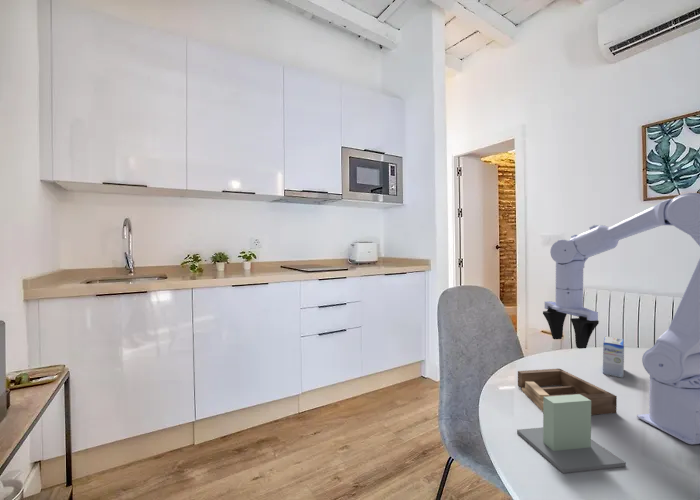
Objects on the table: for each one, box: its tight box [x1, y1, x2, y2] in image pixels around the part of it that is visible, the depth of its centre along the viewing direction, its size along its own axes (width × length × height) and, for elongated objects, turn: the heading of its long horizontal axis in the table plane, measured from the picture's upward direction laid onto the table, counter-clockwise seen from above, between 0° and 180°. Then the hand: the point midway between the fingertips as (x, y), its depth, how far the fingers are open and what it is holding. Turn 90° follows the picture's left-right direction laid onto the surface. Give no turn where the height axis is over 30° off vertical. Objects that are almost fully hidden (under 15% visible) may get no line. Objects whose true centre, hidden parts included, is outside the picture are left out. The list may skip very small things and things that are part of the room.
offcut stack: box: [521, 382, 550, 412], centre depth 74 cm, size 11×2×3 cm, turn 176°
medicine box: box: [602, 336, 625, 378], centre depth 91 cm, size 8×4×9 cm, turn 141°
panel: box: [542, 393, 592, 451], centre depth 57 cm, size 2×7×8 cm, turn 98°
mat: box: [516, 426, 627, 474], centre depth 57 cm, size 11×11×1 cm
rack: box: [517, 368, 618, 416], centre depth 76 cm, size 16×12×4 cm
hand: (568, 343), depth 82 cm, fingers open, 7 cm apart
